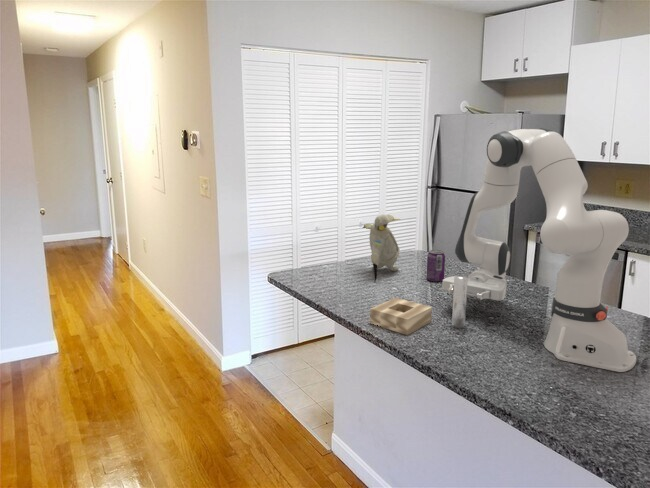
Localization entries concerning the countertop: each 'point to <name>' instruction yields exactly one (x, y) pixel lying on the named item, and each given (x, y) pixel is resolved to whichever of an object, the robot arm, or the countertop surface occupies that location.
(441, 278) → the beverage can
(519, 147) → the robot arm
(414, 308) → the socket block
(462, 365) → the countertop surface
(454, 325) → the pin
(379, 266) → the figurine
